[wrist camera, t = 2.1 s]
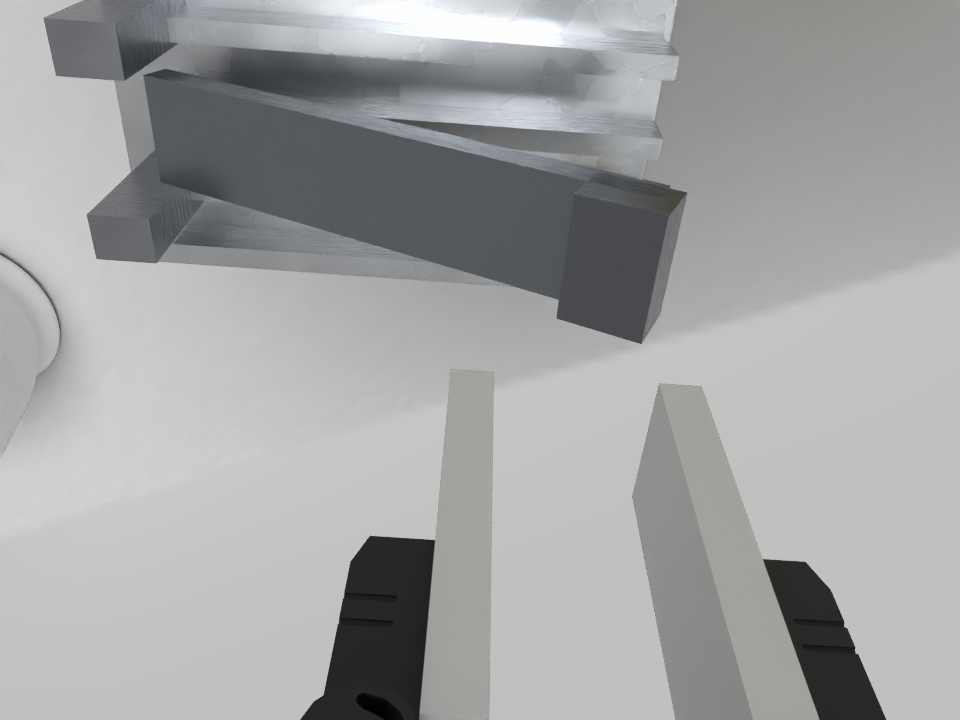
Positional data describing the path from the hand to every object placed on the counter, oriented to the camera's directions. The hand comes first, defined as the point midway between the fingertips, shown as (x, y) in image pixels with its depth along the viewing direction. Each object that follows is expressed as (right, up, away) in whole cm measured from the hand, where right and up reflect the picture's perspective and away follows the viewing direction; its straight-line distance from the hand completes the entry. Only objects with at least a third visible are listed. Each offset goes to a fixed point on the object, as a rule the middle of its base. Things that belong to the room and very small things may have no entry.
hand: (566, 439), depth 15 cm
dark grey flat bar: (-4, +7, +10) cm, 13 cm away
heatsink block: (-5, +14, +20) cm, 25 cm away
